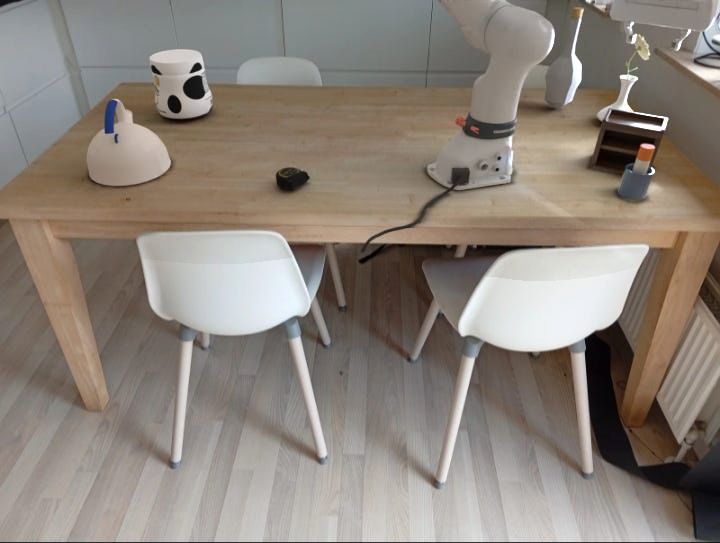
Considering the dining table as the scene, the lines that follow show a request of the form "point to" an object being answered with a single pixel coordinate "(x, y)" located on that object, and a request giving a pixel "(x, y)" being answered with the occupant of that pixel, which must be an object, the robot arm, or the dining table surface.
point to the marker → (643, 158)
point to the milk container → (180, 84)
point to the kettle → (125, 151)
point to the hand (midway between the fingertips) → (651, 45)
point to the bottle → (565, 68)
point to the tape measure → (291, 178)
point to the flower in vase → (627, 79)
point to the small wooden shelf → (626, 138)
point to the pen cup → (635, 183)
